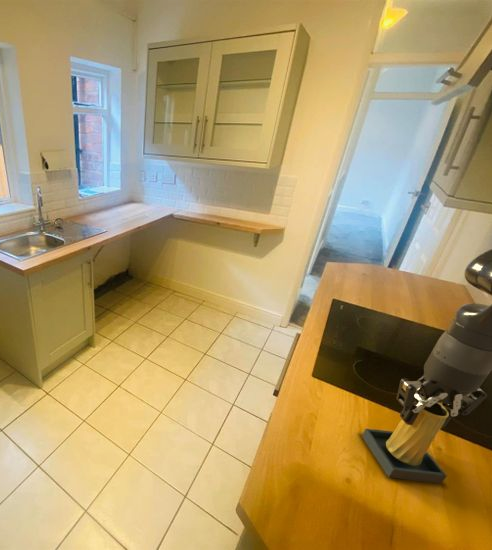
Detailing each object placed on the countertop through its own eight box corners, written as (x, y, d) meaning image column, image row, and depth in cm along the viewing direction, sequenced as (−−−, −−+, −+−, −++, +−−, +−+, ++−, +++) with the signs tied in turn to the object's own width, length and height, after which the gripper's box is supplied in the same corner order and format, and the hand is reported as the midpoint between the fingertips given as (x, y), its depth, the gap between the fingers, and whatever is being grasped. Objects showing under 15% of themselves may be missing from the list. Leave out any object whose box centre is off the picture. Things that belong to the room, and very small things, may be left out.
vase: (379, 438, 70) (404, 392, 64) (408, 441, 69) (436, 395, 63) (396, 464, 64) (426, 416, 58) (428, 468, 63) (461, 421, 57)
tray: (407, 440, 71) (412, 433, 70) (441, 483, 63) (447, 475, 61) (361, 435, 72) (365, 428, 71) (388, 477, 64) (393, 469, 62)
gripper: (434, 369, 53) (396, 435, 60) (526, 377, 51) (476, 443, 58) (403, 342, 59) (372, 404, 67) (484, 348, 58) (443, 411, 65)
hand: (421, 422), depth 63 cm, fingers closed on vase, 5 cm apart
